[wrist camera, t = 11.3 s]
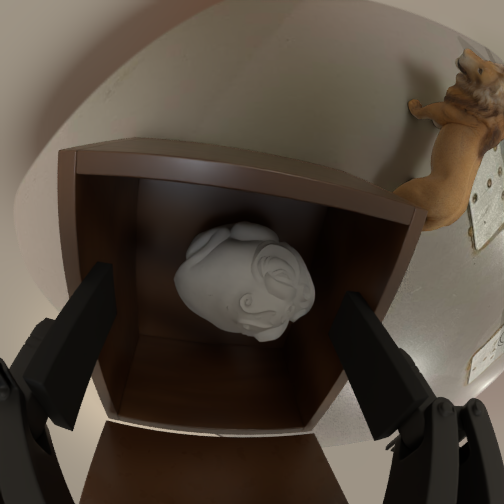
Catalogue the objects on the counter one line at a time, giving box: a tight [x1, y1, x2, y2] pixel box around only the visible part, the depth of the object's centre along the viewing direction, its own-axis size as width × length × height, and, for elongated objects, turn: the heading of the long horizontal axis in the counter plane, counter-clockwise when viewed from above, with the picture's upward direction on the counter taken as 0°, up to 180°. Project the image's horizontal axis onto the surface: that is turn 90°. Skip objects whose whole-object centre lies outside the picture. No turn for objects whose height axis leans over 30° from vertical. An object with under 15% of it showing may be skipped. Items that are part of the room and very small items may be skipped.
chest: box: [58, 137, 428, 435], centre depth 15 cm, size 16×14×9 cm
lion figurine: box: [392, 48, 504, 231], centre depth 12 cm, size 15×5×9 cm, turn 165°
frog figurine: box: [174, 221, 315, 342], centre depth 14 cm, size 6×7×7 cm
